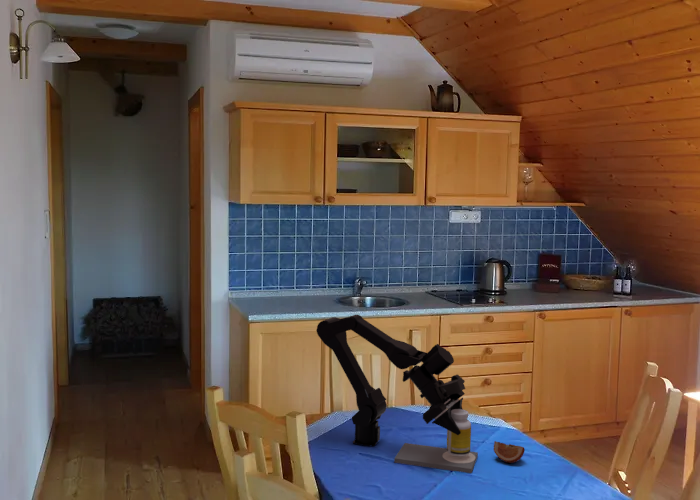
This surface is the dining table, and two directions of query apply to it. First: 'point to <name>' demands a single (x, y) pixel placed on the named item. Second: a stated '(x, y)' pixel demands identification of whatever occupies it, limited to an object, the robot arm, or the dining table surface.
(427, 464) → the panel board
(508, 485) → the dining table surface
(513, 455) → the fruit slice
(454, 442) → the pill bottle
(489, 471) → the dining table surface
